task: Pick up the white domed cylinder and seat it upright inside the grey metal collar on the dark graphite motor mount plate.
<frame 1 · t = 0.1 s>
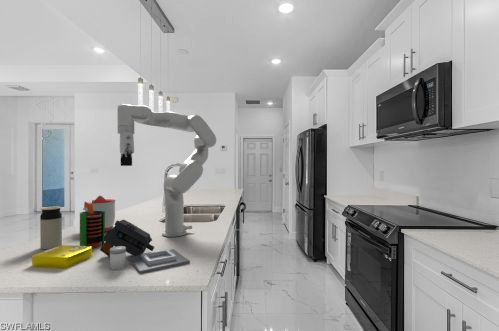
hand: (126, 165, 139), 37 cm above the countertop, tool pointing down, fingers open, 9 cm apart
citrus juicer: (98, 231, 161), on the countertop
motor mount: (158, 261, 110), on the countertop
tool: (128, 256, 117), on the countertop
travel mug: (51, 247, 129), on the countertop
white domed cylinder: (118, 267, 103), on the countertop
motor: (91, 246, 130), on the countertop
element tile: (63, 262, 111), on the countertop
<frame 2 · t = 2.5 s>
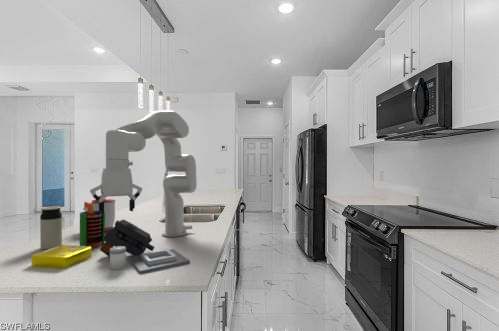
hand: (117, 212, 103), 20 cm above the countertop, tool pointing down, fingers open, 9 cm apart
nothing on the countertop moved.
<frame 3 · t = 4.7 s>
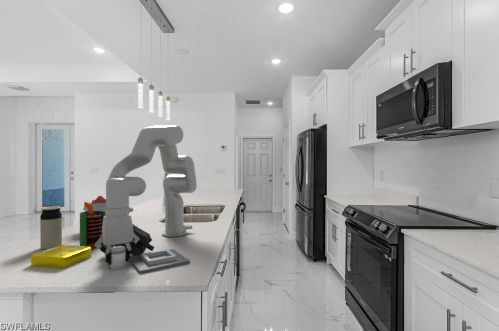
hand: (117, 261, 103), 2 cm above the countertop, tool pointing down, fingers closed on white domed cylinder, 5 cm apart
white domed cylinder: (118, 267, 103), on the countertop, touching gripper
everything else where it was.
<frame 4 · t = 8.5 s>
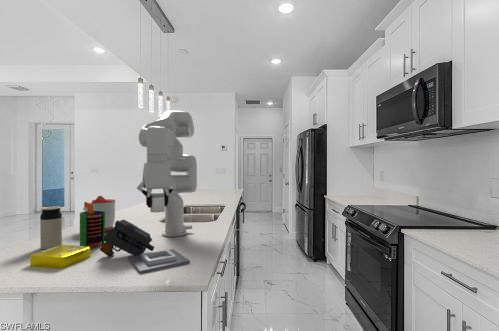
hand: (157, 206, 110), 21 cm above the countertop, tool pointing down, fingers closed on white domed cylinder, 5 cm apart
white domed cylinder: (157, 211, 110), point 19 cm above the countertop, touching gripper
everything else where it was.
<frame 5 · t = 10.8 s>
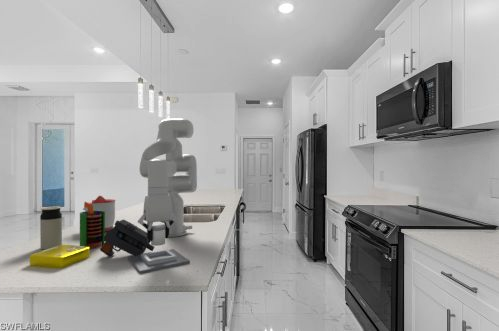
hand: (158, 238, 110), 9 cm above the countertop, tool pointing down, fingers closed on white domed cylinder, 5 cm apart
white domed cylinder: (158, 243, 109), point 7 cm above the countertop, touching gripper
when the fingers open (5 cm above the countertop, at t = 12.5 s): white domed cylinder drops 2 cm, resting on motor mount.
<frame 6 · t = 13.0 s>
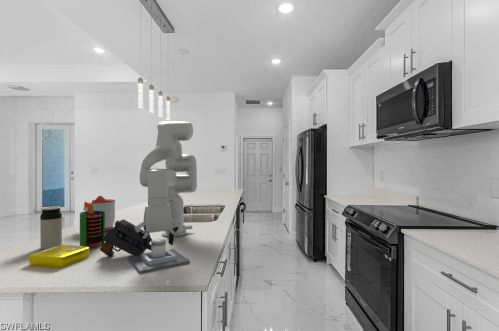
hand: (158, 246, 110), 6 cm above the countertop, tool pointing down, fingers open, 9 cm apart
white domed cylinder: (158, 258, 110), point 1 cm above the countertop, touching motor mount
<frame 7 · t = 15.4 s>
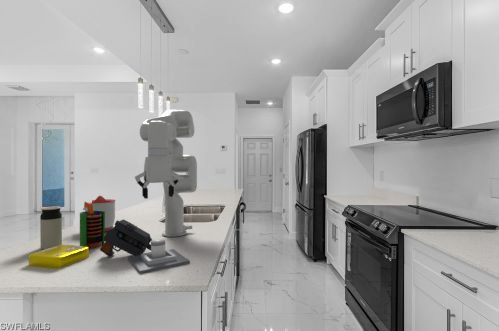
hand: (158, 197, 111), 24 cm above the countertop, tool pointing down, fingers open, 9 cm apart
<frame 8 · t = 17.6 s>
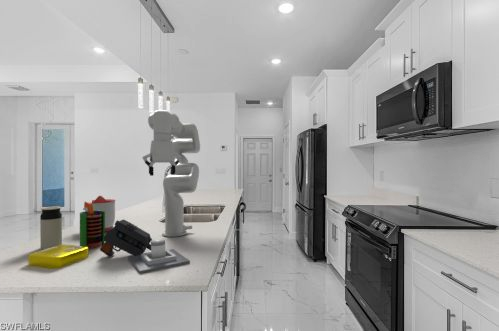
hand: (162, 175, 131), 32 cm above the countertop, tool pointing down, fingers open, 9 cm apart
at the end: white domed cylinder 0.0 cm off-centre on the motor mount, point 1.1 cm above the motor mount's base; white domed cylinder tilted 1°; the gripper is holding nothing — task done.
